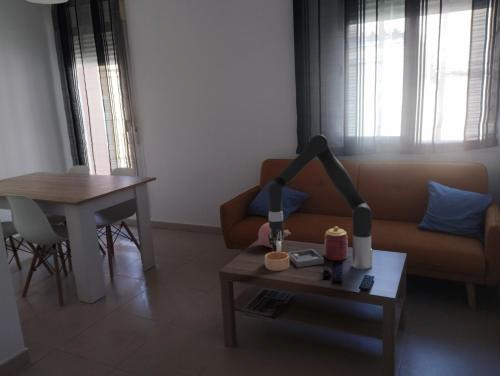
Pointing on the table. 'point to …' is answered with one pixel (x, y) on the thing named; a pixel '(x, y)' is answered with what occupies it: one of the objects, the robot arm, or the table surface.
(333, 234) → the canister
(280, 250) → the pale stone
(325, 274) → the black bracket
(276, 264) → the terracotta bowl
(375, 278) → the table surface
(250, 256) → the table surface
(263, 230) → the balloon
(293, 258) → the parts tray
